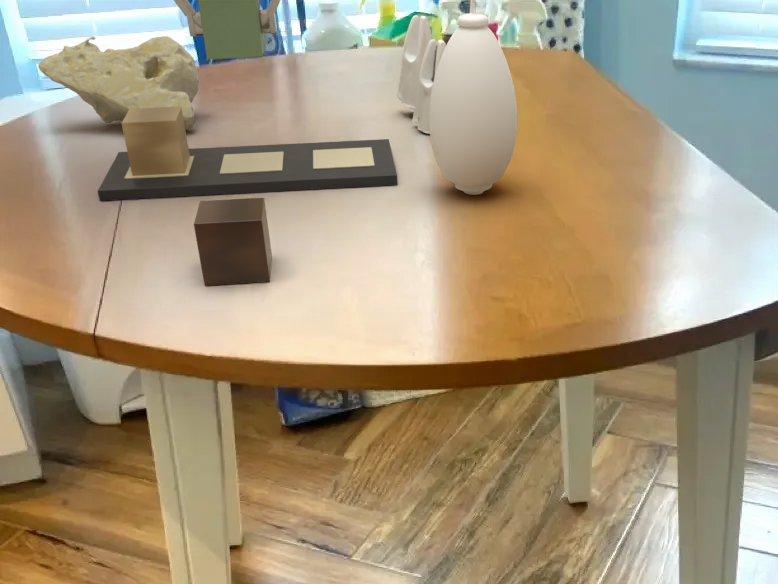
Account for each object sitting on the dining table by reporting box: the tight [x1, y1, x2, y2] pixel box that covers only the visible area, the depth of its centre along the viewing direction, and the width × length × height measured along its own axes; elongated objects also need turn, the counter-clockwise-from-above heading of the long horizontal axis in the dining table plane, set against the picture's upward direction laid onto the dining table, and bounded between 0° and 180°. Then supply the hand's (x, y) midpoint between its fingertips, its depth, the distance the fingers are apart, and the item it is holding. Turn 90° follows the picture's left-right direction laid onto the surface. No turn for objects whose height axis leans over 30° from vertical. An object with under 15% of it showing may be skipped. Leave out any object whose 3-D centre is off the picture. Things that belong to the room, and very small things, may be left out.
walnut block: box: [193, 197, 273, 287], centre depth 75 cm, size 5×5×5 cm
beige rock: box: [38, 35, 200, 131], centre depth 110 cm, size 15×7×15 cm
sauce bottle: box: [429, 0, 518, 196], centre depth 86 cm, size 8×8×18 cm
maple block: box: [120, 107, 190, 175], centre depth 93 cm, size 5×5×5 cm
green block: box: [197, 0, 266, 60], centre depth 88 cm, size 5×5×5 cm
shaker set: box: [396, 14, 447, 135], centre depth 107 cm, size 12×4×11 cm, turn 18°
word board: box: [97, 138, 398, 202], centre depth 96 cm, size 28×12×1 cm, turn 97°
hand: (233, 33), depth 88 cm, fingers closed on green block, 5 cm apart
